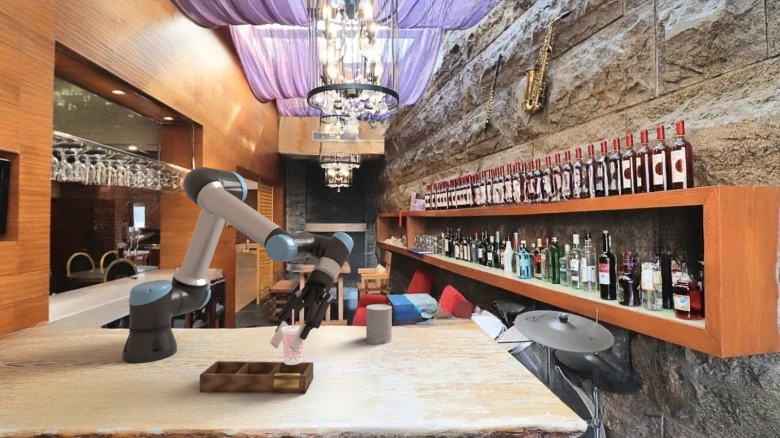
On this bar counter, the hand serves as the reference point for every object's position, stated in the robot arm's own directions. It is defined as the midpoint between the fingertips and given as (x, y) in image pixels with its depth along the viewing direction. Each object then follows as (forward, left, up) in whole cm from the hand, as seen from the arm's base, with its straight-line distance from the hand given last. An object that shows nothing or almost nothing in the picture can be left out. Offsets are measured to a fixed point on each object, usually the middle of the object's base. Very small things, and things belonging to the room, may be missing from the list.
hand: (283, 347), depth 100 cm
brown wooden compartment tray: (-7, +3, -11) cm, 14 cm away
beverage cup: (+2, +3, -5) cm, 6 cm away
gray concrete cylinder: (+23, +43, -11) cm, 50 cm away
